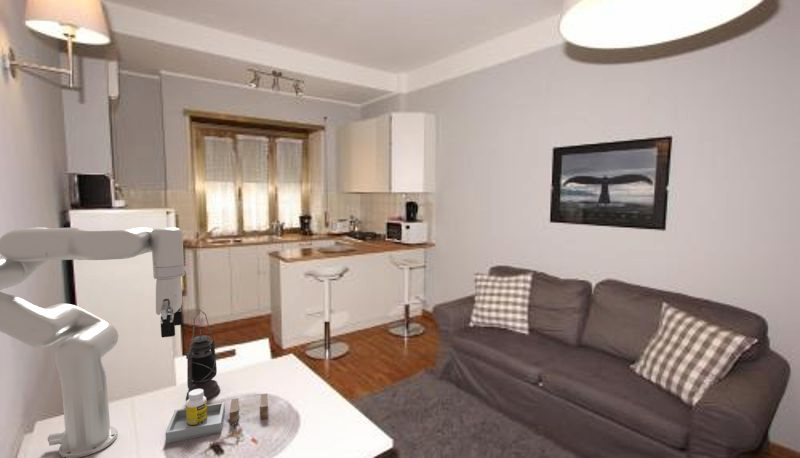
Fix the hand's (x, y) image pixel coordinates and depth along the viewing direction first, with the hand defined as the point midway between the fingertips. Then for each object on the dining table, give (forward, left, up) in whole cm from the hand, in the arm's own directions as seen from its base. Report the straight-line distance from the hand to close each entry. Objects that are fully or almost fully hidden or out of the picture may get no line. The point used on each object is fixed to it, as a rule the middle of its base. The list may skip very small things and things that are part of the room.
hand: (172, 330), depth 109 cm
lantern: (+4, +21, -31) cm, 37 cm away
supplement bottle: (+5, +1, -30) cm, 30 cm away
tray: (+5, +1, -30) cm, 31 cm away
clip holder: (+20, +2, -30) cm, 36 cm away
